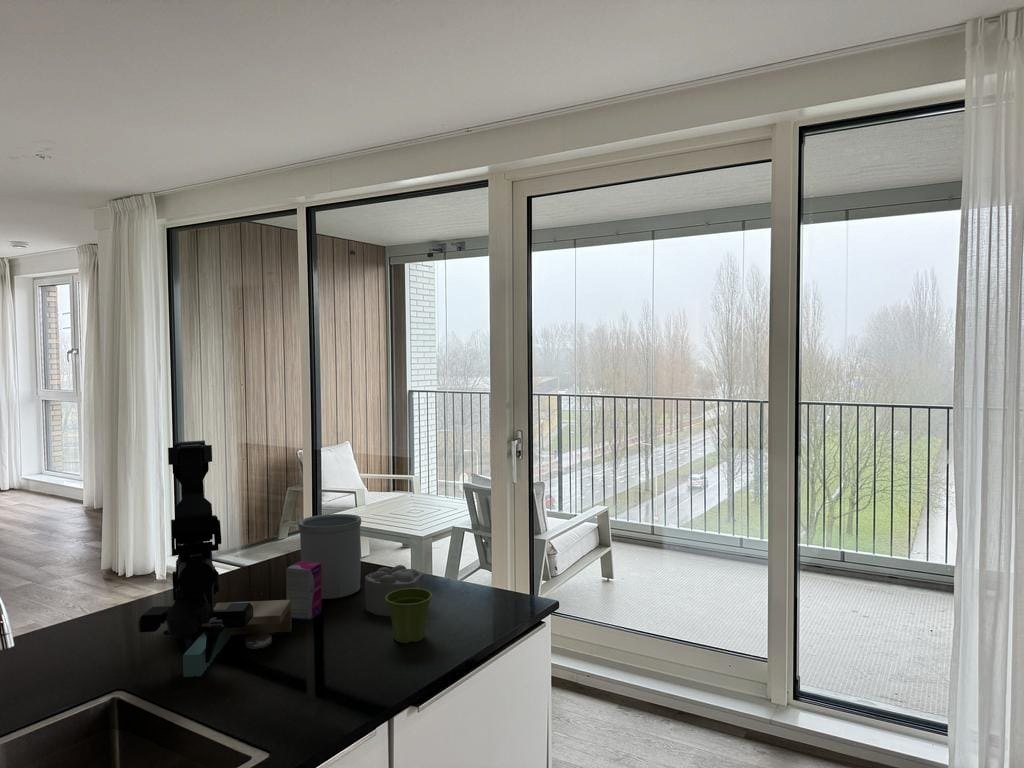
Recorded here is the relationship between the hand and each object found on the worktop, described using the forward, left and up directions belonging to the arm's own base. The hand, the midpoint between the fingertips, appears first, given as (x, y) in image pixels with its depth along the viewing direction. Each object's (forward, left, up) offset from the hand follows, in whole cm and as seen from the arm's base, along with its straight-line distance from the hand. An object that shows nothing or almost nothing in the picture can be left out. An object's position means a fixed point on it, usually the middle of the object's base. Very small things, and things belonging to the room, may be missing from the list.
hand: (198, 662), depth 128 cm
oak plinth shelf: (+5, +11, -1) cm, 13 cm away
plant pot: (+38, +9, -1) cm, 39 cm away
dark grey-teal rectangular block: (0, +5, -1) cm, 5 cm away
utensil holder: (+17, +41, -1) cm, 45 cm away
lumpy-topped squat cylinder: (+33, +27, -1) cm, 43 cm away
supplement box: (+14, +24, -1) cm, 28 cm away
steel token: (+8, +10, -1) cm, 13 cm away
